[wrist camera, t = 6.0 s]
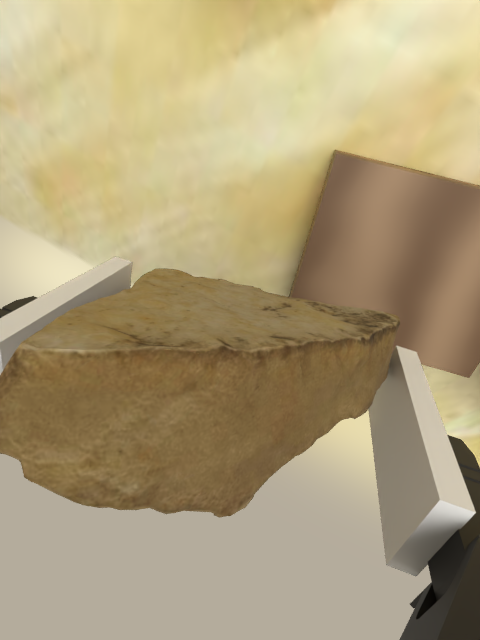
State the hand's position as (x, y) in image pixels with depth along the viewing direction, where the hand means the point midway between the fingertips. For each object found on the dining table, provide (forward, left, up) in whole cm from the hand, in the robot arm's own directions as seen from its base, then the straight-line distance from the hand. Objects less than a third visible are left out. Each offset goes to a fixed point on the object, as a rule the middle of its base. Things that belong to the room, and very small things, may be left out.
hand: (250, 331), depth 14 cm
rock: (0, 0, -1) cm, 1 cm away
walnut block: (+9, 0, -17) cm, 19 cm away
